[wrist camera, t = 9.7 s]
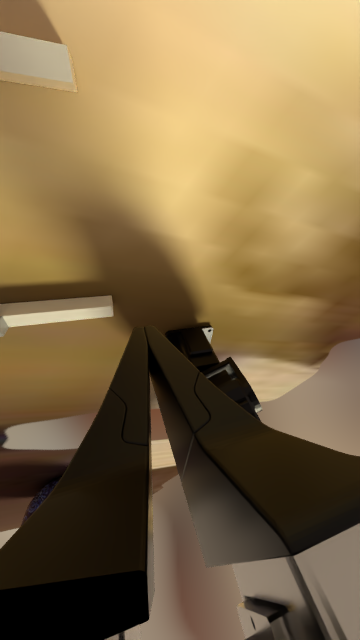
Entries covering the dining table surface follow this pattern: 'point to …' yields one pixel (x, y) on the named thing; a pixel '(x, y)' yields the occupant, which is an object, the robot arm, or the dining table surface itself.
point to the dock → (57, 73)
